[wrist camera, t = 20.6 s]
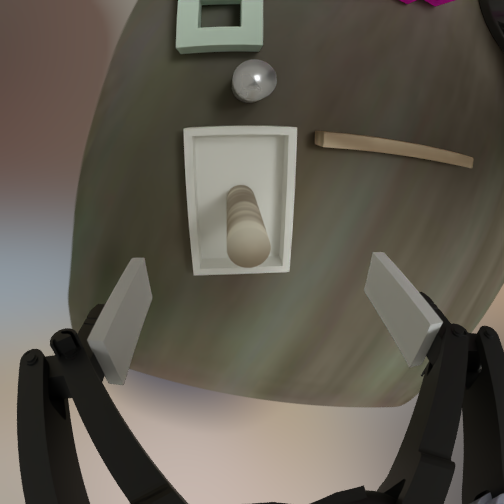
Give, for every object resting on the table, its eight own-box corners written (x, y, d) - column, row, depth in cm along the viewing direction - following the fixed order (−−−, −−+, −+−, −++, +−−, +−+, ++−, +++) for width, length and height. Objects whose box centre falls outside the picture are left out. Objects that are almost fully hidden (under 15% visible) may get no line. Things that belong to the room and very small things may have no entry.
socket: (183, -8, 20) (179, -18, 17) (259, -10, 20) (262, -21, 18) (180, 54, 23) (175, 47, 20) (259, 51, 24) (262, 45, 21)
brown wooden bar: (314, 130, 28) (324, 132, 25) (459, 153, 30) (473, 157, 27) (314, 143, 29) (323, 147, 26) (458, 163, 30) (472, 168, 28)
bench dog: (231, 70, 25) (232, 59, 19) (267, 71, 25) (276, 60, 19) (231, 103, 26) (232, 99, 21) (266, 103, 26) (276, 100, 21)
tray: (187, 127, 27) (183, 128, 24) (290, 126, 28) (297, 127, 25) (196, 262, 34) (193, 275, 31) (284, 259, 35) (289, 271, 32)
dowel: (226, 185, 29) (225, 229, 19) (254, 184, 30) (271, 227, 19) (227, 212, 31) (227, 268, 20) (254, 211, 31) (270, 266, 20)
